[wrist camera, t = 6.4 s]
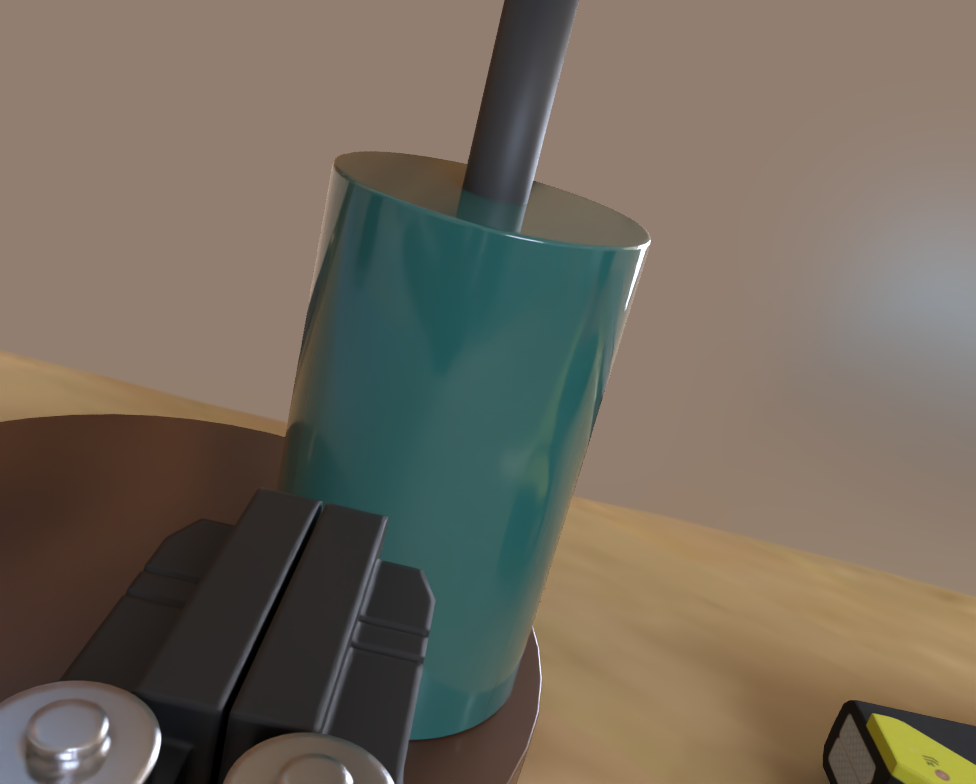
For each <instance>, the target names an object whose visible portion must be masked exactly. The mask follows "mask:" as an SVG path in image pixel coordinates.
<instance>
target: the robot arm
mask: <svg viewBox="0 0 976 784" xmlns="http://www.w3.org/2000/svg"><path fill="white" fill-rule="evenodd" d="M387 524H388V517H387V516H383V515H379V514H374V513H370V512H366V511H362V510H358V509H353V508H349V507H345V506H341V505H337V504H332V503H326V505H325V507H324V509H323V502H322V501H319V500H315V499H310V498H306V497H302V496H298V495H294V494H289V493H285V492H281V491H277V490H273V489H268V488H264V487H259V488H258V489H257V491H256V492H255V494H254V495H253V497H252V499H251V500H250V502H249V503H248V505H247V507H246V508H245V510H244V511H243V513H242V515H241V516H240V518H239V519H238V521H237V523H236V524H235V526H234V525H230V524H226V523H221V522H217V521H213V520H209V519H205V518H201V519H199V520H197V521H195V522H193V523H191V524H189V525H188V526H186V527H184V528H182V529H180V530H178V531H176V532H175V533H173V534H171V535H169V536H167V537H165V539H164V540H163V541H162V543H161V544H160V546H159V547H158V548H157V550H156V551H155V552H154V554H153V555H152V556H151V558H150V559H149V560H148V562H147V563H146V564H145V567H144V570H143V571H140V572H139V574H138V575H137V576H136V578H135V579H134V580H133V582H132V583H131V584H130V586H129V587H128V588H127V592H126V594H125V595H122V596H121V598H120V599H119V600H118V602H117V603H116V604H115V606H114V607H113V608H112V610H111V611H110V613H109V614H108V615H107V617H106V618H105V619H104V621H103V622H102V623H101V625H100V626H99V627H98V629H97V630H96V631H95V633H94V634H93V635H92V637H91V638H90V639H89V641H88V642H87V643H86V645H85V646H84V647H83V649H82V650H81V651H80V653H79V654H78V655H77V657H76V658H75V659H74V661H73V662H72V663H71V665H70V666H69V667H68V669H67V670H66V671H65V673H64V674H63V675H62V677H61V678H60V680H59V681H58V682H54V683H48V684H44V685H40V686H36V687H33V688H30V689H27V690H24V691H22V692H19V693H17V694H15V695H13V696H11V697H9V698H7V699H5V700H4V701H2V702H1V703H0V784H404V783H403V772H404V764H405V759H406V753H407V748H408V743H409V738H410V732H411V727H412V722H413V717H414V711H415V706H416V701H417V696H418V690H419V685H420V680H421V675H422V669H423V663H424V658H425V653H426V648H427V643H428V636H429V632H430V627H431V622H432V617H433V611H434V606H435V601H436V600H435V598H434V596H433V593H432V591H431V588H430V586H429V584H428V581H427V579H426V577H425V574H424V572H423V570H422V569H417V568H413V567H409V566H405V565H400V564H396V563H392V562H388V561H383V560H380V556H381V552H382V547H383V543H384V538H385V534H386V529H387Z"/></svg>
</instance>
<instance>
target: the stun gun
mask: <svg viewBox="0 0 976 784" xmlns="http://www.w3.org/2000/svg"><path fill="white" fill-rule="evenodd" d="M823 768H824V770H825V773H826V775H827V777H828V780H829V782H830V784H976V726H972V725H967V724H963V723H958V722H953V721H949V720H944V719H940V718H935V717H931V716H926V715H921V714H917V713H912V712H908V711H903V710H899V709H894V708H889V707H885V706H880V705H876V704H871V703H866V702H862V701H857V700H850V701H848V702H846V703H844V704H843V706H842V708H841V710H840V712H839V714H838V716H837V718H836V720H835V722H834V724H833V726H832V728H831V731H830V733H829V736H828V738H827V740H826V743H825V745H824V752H823Z"/></svg>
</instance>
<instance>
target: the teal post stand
mask: <svg viewBox="0 0 976 784" xmlns="http://www.w3.org/2000/svg"><path fill="white" fill-rule="evenodd" d="M578 2H579V0H505V1H504V6H503V10H502V14H501V18H500V23H499V27H498V32H497V36H496V40H495V45H494V49H493V54H492V59H491V63H490V67H489V71H488V76H487V80H486V85H485V89H484V93H483V98H482V102H481V107H480V111H479V116H478V120H477V124H476V129H475V133H474V138H473V142H472V146H471V151H470V155H469V160H468V164H463V163H459V162H453V161H448V160H443V159H437V158H431V157H425V156H418V155H410V154H402V153H391V152H353V153H347V154H343V155H340V156H338V157H337V158H336V159H335V160H334V162H333V165H332V171H331V177H330V182H329V188H328V194H327V200H326V206H325V211H324V217H323V223H322V228H321V234H320V240H319V246H318V251H317V257H316V263H315V269H314V275H313V280H312V286H311V292H310V298H309V303H308V310H307V315H306V321H305V327H304V332H303V338H302V344H301V350H300V355H299V361H298V367H297V373H296V378H295V384H294V390H293V396H292V402H291V408H290V413H289V419H288V425H287V430H286V436H285V437H282V436H278V435H275V434H271V433H267V432H262V431H257V430H252V429H248V428H243V427H238V426H233V425H227V424H220V423H214V422H207V421H200V420H193V419H183V418H172V417H161V416H145V415H119V414H104V415H66V416H53V417H39V418H27V419H20V420H12V421H5V422H0V703H1V702H2V701H4V700H5V699H7V698H9V697H11V696H13V695H15V694H17V693H19V692H22V691H24V690H27V689H30V688H33V687H36V686H40V685H44V684H48V683H54V682H58V681H59V680H60V678H61V677H62V675H63V674H64V673H65V671H66V670H67V669H68V667H69V666H70V665H71V663H72V662H73V661H74V659H75V658H76V657H77V655H78V654H79V653H80V651H81V650H82V649H83V647H84V646H85V645H86V643H87V642H88V641H89V639H90V638H91V637H92V635H93V634H94V633H95V631H96V630H97V629H98V627H99V626H100V625H101V623H102V622H103V621H104V619H105V618H106V617H107V615H108V614H109V613H110V611H111V610H112V608H113V607H114V606H115V604H116V603H117V602H118V600H119V599H120V598H121V596H122V595H125V594H126V592H127V588H128V587H129V586H130V584H131V583H132V582H133V580H134V579H135V578H136V576H137V575H138V574H139V572H140V571H143V570H144V567H145V564H146V563H147V562H148V560H149V559H150V558H151V556H152V555H153V554H154V552H155V551H156V550H157V548H158V547H159V546H160V544H161V543H162V541H163V540H164V539H165V537H167V536H169V535H171V534H173V533H175V532H176V531H178V530H180V529H182V528H184V527H186V526H188V525H189V524H191V523H193V522H195V521H197V520H199V519H201V518H205V519H209V520H213V521H217V522H221V523H226V524H230V525H234V526H235V524H236V523H237V521H238V519H239V518H240V516H241V515H242V513H243V511H244V510H245V508H246V507H247V505H248V503H249V502H250V500H251V499H252V497H253V495H254V494H255V492H256V491H257V489H258V488H259V487H264V488H268V489H273V490H277V491H281V492H285V493H289V494H294V495H298V496H302V497H306V498H310V499H315V500H319V501H322V502H323V509H324V507H325V505H326V503H332V504H337V505H341V506H345V507H349V508H353V509H358V510H362V511H366V512H370V513H374V514H379V515H383V516H387V517H388V524H387V529H386V534H385V538H384V543H383V547H382V552H381V556H380V560H383V561H388V562H392V563H396V564H400V565H405V566H409V567H413V568H417V569H422V570H423V572H424V574H425V577H426V579H427V581H428V584H429V586H430V588H431V591H432V593H433V596H434V598H435V600H436V601H435V606H434V611H433V617H432V622H431V627H430V632H429V636H428V643H427V648H426V653H425V658H424V663H423V669H422V675H421V680H420V685H419V690H418V696H417V701H416V706H415V711H414V717H413V722H412V727H411V732H410V738H409V743H408V748H407V753H406V759H405V764H404V772H403V783H404V784H517V781H518V778H519V775H520V772H521V769H522V766H523V763H524V760H525V757H526V754H527V751H528V747H529V744H530V741H531V738H532V734H533V731H534V728H535V725H536V721H537V718H538V715H539V705H540V695H541V685H542V677H541V666H540V656H539V647H538V644H537V640H536V637H535V633H534V630H533V626H532V625H533V622H534V619H535V616H536V613H537V609H538V606H539V603H540V600H541V596H542V593H543V590H544V587H545V583H546V580H547V577H548V574H549V570H550V567H551V564H552V561H553V558H554V554H555V551H556V548H557V545H558V541H559V538H560V535H561V532H562V528H563V525H564V522H565V519H566V515H567V512H568V509H569V506H570V502H571V499H572V496H573V493H574V489H575V486H576V483H577V480H578V476H579V473H580V470H581V467H582V464H583V460H584V457H585V454H586V451H587V447H588V444H589V441H590V438H591V434H592V431H593V428H594V425H595V422H596V418H597V415H598V412H599V409H600V405H601V402H602V399H603V396H604V392H605V389H606V385H607V383H608V379H609V376H610V373H611V370H612V366H613V363H614V360H615V357H616V353H617V350H618V347H619V343H620V341H621V337H622V334H623V331H624V328H625V324H626V321H627V317H628V314H629V311H630V308H631V305H632V302H633V299H634V295H635V292H636V289H637V286H638V282H639V279H640V276H641V273H642V269H643V266H644V263H645V260H646V256H647V253H648V250H649V247H650V243H651V238H650V235H649V234H648V232H647V231H646V230H645V229H644V228H643V227H642V226H640V225H639V224H638V223H636V222H635V221H633V220H631V219H630V218H628V217H626V216H625V215H623V214H621V213H619V212H617V211H614V210H613V209H610V208H608V207H606V206H604V205H601V204H599V203H597V202H594V201H592V200H589V199H586V198H584V197H581V196H578V195H575V194H573V193H570V192H567V191H564V190H561V189H558V188H555V187H552V186H549V185H545V184H542V183H539V182H536V181H533V179H534V175H535V171H536V167H537V163H538V159H539V155H540V152H541V148H542V143H543V139H544V136H545V132H546V128H547V124H548V120H549V116H550V112H551V108H552V104H553V100H554V96H555V93H556V89H557V85H558V80H559V77H560V73H561V69H562V65H563V61H564V57H565V53H566V49H567V45H568V41H569V38H570V34H571V29H572V26H573V22H574V18H575V14H576V10H577V6H578Z"/></svg>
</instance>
